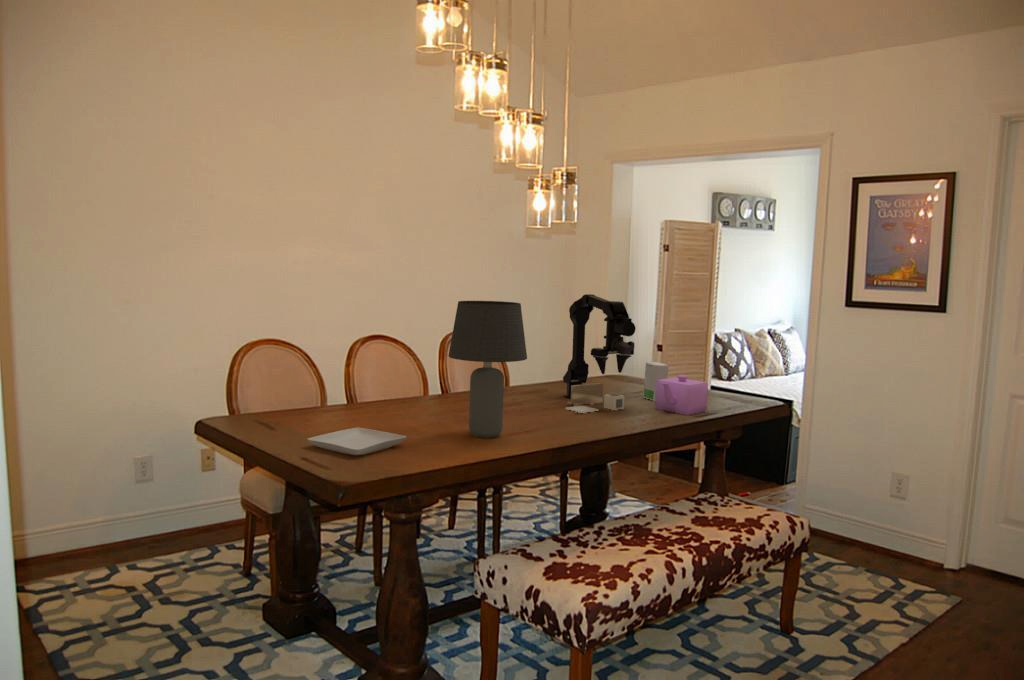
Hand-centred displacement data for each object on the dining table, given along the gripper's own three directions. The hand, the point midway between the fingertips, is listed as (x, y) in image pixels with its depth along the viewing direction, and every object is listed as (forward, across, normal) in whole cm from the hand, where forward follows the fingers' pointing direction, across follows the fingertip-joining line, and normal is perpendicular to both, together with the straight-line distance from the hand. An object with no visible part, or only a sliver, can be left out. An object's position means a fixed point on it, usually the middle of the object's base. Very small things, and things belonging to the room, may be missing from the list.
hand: (611, 373), depth 297 cm
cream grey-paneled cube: (+14, +1, -1) cm, 14 cm away
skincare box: (+14, +32, +5) cm, 36 cm away
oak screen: (+14, -1, +12) cm, 18 cm away
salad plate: (+14, -112, -6) cm, 113 cm away
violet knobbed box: (+14, +22, -16) cm, 31 cm away
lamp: (+14, -70, -13) cm, 73 cm away
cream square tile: (+14, -13, +2) cm, 19 cm away
